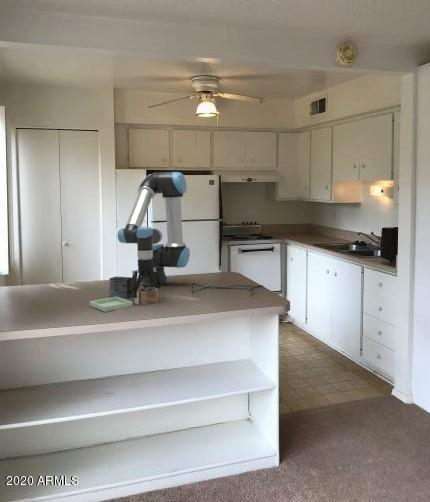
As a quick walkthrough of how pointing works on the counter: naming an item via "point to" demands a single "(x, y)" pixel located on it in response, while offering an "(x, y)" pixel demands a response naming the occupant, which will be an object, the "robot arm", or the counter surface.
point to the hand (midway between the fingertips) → (146, 302)
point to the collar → (148, 296)
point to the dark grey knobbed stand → (146, 286)
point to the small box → (120, 287)
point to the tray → (110, 304)
